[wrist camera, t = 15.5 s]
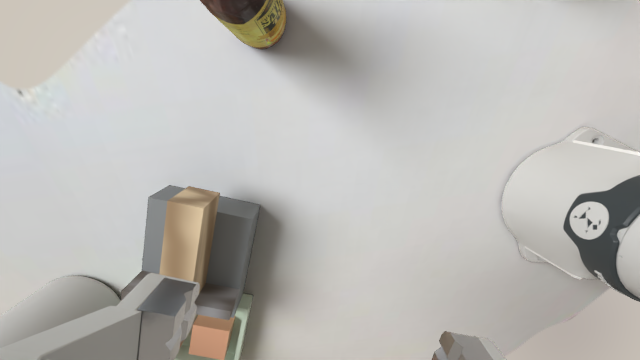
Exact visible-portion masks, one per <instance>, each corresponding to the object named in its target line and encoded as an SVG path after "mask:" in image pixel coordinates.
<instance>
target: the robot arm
mask: <svg viewBox="0 0 640 360" xmlns="http://www.w3.org/2000/svg"><path fill="white" fill-rule="evenodd" d="M593 139H594V141H593ZM592 141H593V143H592ZM502 215H503V219H504V221H505V224H506V226H507V228H508V229H509V231H510V232H511V233H512V234H513V235H514V237H515V238H516V239H517V241H518V246H519V250H520V254H521V256H522V257H523V258H524V259H526V260H528V261H530V262H549V263H551V264H552V265H554V266H556V267H557V268H559V269H561V270H562V271H564V272H566V273H567V274H569V275H571V276H572V277H574V278H577V279H580V280H581V279H583V278H585V279H600V280H601V281H602V282H604V283H605V284H606V285H607V286H609V287H610V288H612V289H614V290H615V291H617V292H619V293H622V294H625V295H627V296H628V297H630V298H632V299H634V300H636V301H639V302H640V152H638V151H636V150H634V149H632V148H630V147H628V146H626V145H625V144H623V143H621V142H619V141H617V140H615V139H613V138H611V137H609V136H607V135H605V134H603V133H602V132H600V131H598V130H596V129H593V128H589V127H582V128H580V129H578V130H576V131H575V132H573V133H572V134H571V135H569V136H568V137H567V138H566V139H565V140H563V141H562V142H560V143H557V144H554V145H552V146H549V147H546V148H543V149H541V150H539V151H537V152H536V153H534V154H532V155H531V156H529V157H528V158H527V159H526V160H524V161H523V162H522V163H521V164H520V165H519V166H518V167H517V168H516V170H515V171H514V172H513V174H512V175H511V177H510V178H509V180H508V182H507V184H506V187H505V189H504V193H503V197H502ZM199 289H200V284H199V283H197V282H193V281H188V280H184V279H179V278H174V277H170V276H165V275H160V274H155V273H150V274H148V275H146V276H145V277H144V278H143V279H142V280H141V281H140V283H139V284H138V285H137V286H136V287H135V288H134V289H133V290H132V291H131V292H130V293H129V294H128V295H127V296H126V297H125V298H124V299H123V300H122V301H121V302H120V303H119V304H118V305H117V306H108V307H106V308H103V309H100V310H98V311H95V312H93V313H90V314H87V315H85V316H82V317H80V318H77V319H75V320H72V321H69V322H67V323H64V324H62V325H59V326H56V327H54V328H51V329H49V330H46V331H43V332H41V333H38V334H36V335H33V336H30V337H28V338H25V339H23V340H20V341H17V342H15V343H12V344H10V345H7V346H4V347H2V348H0V360H174V359H175V358H176V356H177V354H178V352H179V348H180V342H181V341H183V340H185V339H186V338H187V336H188V334H189V332H190V330H191V327H192V324H193V322H194V318H195V315H196V309H197V306H196V304H195V300H196V298H197V297H198V295H199ZM439 342H440V344H441V347H440V348H439V349H438V350H436V351H435V352H434V355H433V358H432V360H506V358H505V357H504V356H503V354H502V353H501V351H500V350H499V349H498V347H497V346H496V345H495V343H494V342H493V341H491V340H490V339H489V338H482V337H476V336H468V335H463V334H457V333H452V332H447V331H445V332H444V333H443V334H442V335H441V338H440V340H439Z"/></svg>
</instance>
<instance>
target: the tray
mask: <svg viewBox="0 0 640 360" xmlns="http://www.w3.org/2000/svg"><path fill="white" fill-rule="evenodd" d="M252 299H253V295H248V294H243V295H242V298H241V300H240V303H239V305H238V308H237V311H236V313H235V321H234V326H233V331H232V336H231V341H230V345H229V348H228V351H227V354H226V356H225V359H224V360H240V357H241V353H242V348H243V343H244V338H245V333H246V328H247V324H248V319H249V314H250V309H251V304H252ZM197 317H198V314H196V315H195V318H194V322H195V320H196V318H197ZM194 322H193V324H194ZM193 324H192V327H191V330H190V332H189V334H188V336H187V338H186V339H185V340H184V342H183V344H182V345H181V347H180V349H179V352H178V354H177V356H176V358H175V359H174V360H219V359H214V358H208V357H203V356H197V355H192V354H189V347H190V341H191V334H192V328H193Z"/></svg>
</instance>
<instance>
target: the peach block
mask: <svg viewBox="0 0 640 360" xmlns="http://www.w3.org/2000/svg"><path fill="white" fill-rule="evenodd" d="M234 321H235V316H234V318H231V317H230V320H225V319H219V318H214V317H209V316H203V315H198V317H197V318H196V320H195V322H194V324H193V328H192V334H191V341H190V347H189V354H192V355H197V356H203V357H208V358H214V359H219V360H224V359H225V356H226V354H227V351H228V348H229V345H230V341H231V336H232V331H233V326H234Z"/></svg>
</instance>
